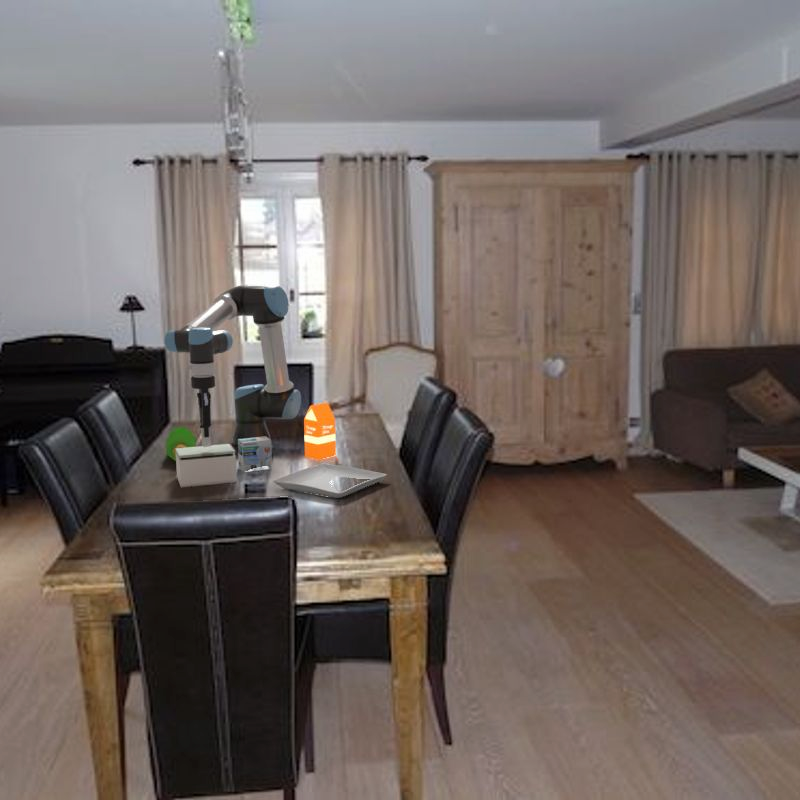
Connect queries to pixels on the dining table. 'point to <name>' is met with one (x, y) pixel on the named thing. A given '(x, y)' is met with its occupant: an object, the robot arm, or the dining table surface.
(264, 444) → the light bulb box
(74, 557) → the dining table surface
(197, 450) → the box lid
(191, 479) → the beige box
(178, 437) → the decorative tree
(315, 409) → the orange juice
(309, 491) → the square plate
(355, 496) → the dining table surface
